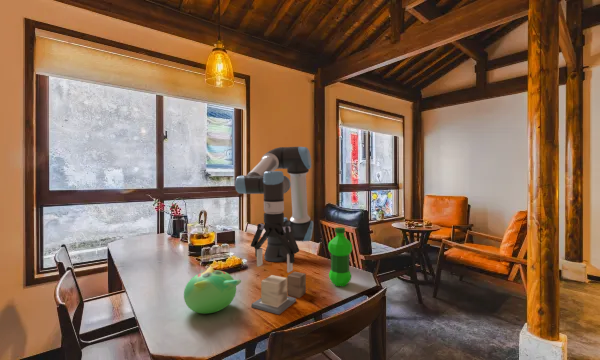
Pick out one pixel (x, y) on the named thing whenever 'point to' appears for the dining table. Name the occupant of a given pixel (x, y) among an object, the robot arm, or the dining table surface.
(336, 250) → the plastic bottle
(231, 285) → the round green bird figurine
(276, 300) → the maple block
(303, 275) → the walnut block
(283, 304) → the slate pad
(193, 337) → the dining table surface
